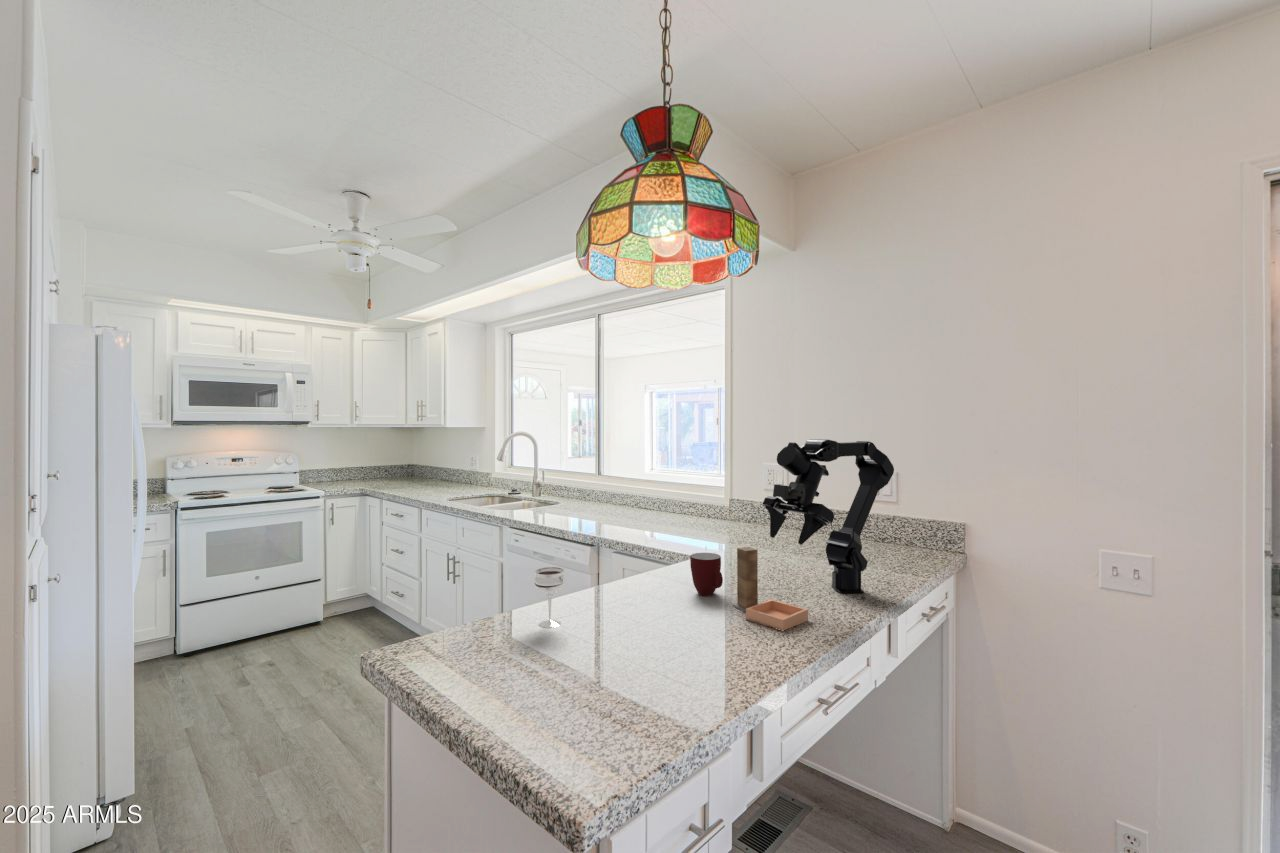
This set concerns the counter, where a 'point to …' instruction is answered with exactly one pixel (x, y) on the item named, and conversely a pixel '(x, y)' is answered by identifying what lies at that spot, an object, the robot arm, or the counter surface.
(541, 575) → the wineglass
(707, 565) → the mug
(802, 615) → the dish
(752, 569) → the wood grain bar
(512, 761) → the counter surface
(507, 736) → the counter surface
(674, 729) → the counter surface
